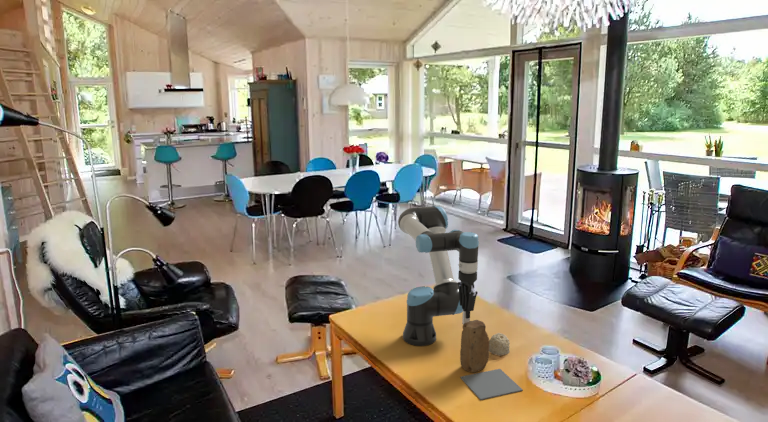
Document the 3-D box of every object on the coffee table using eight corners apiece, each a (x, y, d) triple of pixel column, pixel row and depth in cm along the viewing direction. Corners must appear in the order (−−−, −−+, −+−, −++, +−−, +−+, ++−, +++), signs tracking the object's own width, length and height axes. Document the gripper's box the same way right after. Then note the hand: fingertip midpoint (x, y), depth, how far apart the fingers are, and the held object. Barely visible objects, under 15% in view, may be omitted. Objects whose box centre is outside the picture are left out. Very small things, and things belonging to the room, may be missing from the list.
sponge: (509, 359, 231) (512, 336, 234) (508, 356, 222) (510, 332, 226) (488, 355, 234) (491, 332, 237) (485, 352, 225) (488, 329, 229)
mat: (460, 377, 209) (460, 376, 209) (500, 369, 215) (500, 368, 215) (480, 400, 194) (480, 398, 194) (522, 390, 200) (522, 389, 200)
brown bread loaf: (468, 375, 211) (470, 329, 206) (458, 366, 217) (459, 321, 212) (490, 368, 215) (493, 323, 211) (479, 360, 222) (481, 316, 217)
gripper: (452, 266, 219) (450, 319, 225) (467, 277, 207) (465, 332, 213) (468, 264, 222) (466, 316, 227) (484, 274, 210) (481, 329, 215)
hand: (466, 324), depth 220 cm, fingers closed
